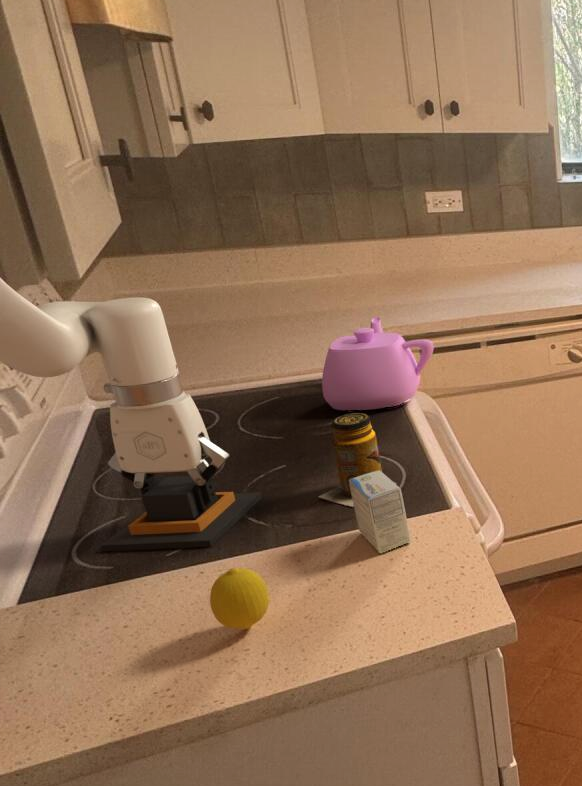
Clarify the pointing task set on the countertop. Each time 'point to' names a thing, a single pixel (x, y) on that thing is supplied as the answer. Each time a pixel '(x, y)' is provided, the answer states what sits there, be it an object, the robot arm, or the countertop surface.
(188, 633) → the countertop surface
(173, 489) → the small block
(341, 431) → the condiment
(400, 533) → the medicine box
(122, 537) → the base pad
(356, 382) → the teapot
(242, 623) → the lemon
